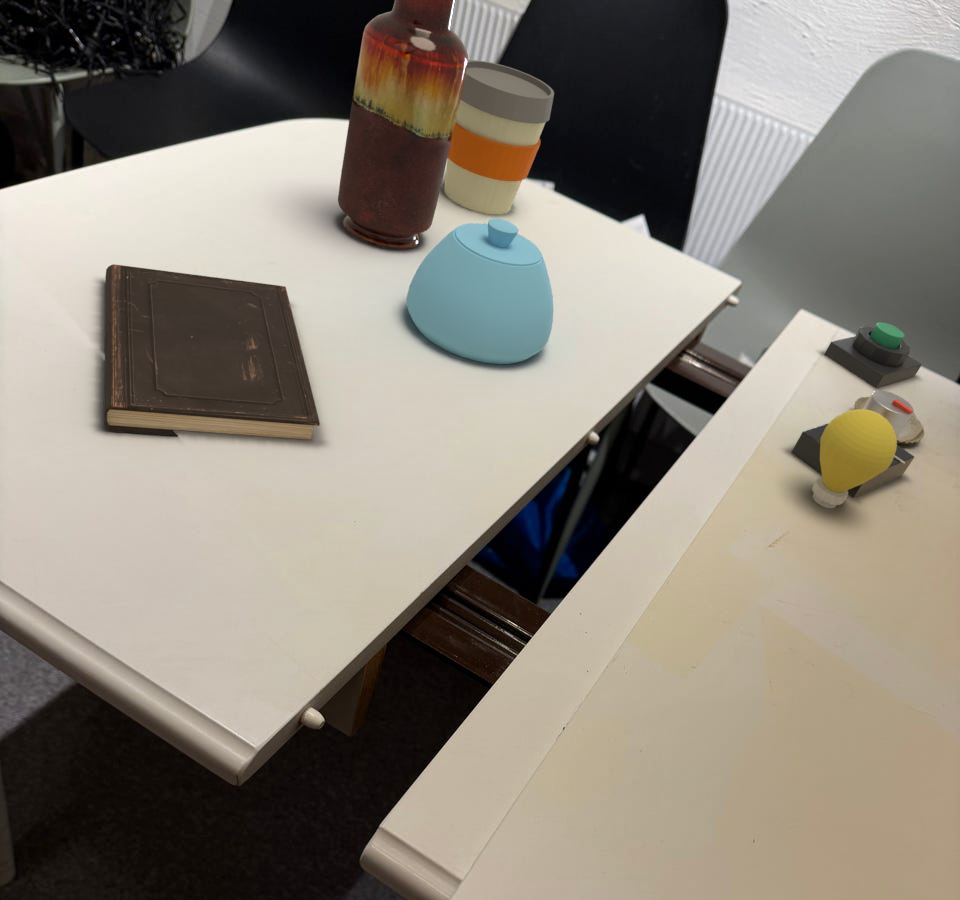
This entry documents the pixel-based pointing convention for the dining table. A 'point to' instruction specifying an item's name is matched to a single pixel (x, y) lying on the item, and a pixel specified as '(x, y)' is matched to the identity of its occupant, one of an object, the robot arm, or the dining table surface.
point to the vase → (401, 122)
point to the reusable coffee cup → (495, 136)
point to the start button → (887, 335)
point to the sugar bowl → (484, 294)
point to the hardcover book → (202, 357)
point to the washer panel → (810, 454)
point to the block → (873, 359)
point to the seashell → (910, 431)
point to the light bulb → (852, 454)
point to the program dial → (890, 409)
